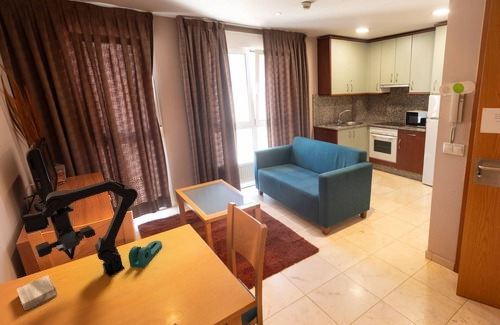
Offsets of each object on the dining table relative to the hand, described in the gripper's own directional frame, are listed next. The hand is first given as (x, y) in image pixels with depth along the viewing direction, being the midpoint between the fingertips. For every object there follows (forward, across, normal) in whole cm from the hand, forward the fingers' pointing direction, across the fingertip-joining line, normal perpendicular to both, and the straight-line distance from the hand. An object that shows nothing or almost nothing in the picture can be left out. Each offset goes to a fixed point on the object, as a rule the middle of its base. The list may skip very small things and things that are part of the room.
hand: (71, 258), depth 103 cm
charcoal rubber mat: (+12, -12, +6) cm, 18 cm away
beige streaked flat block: (+10, -7, +6) cm, 14 cm away
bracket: (+12, +28, -6) cm, 31 cm away
